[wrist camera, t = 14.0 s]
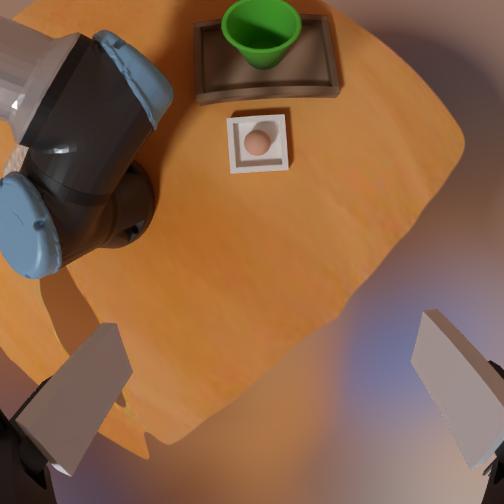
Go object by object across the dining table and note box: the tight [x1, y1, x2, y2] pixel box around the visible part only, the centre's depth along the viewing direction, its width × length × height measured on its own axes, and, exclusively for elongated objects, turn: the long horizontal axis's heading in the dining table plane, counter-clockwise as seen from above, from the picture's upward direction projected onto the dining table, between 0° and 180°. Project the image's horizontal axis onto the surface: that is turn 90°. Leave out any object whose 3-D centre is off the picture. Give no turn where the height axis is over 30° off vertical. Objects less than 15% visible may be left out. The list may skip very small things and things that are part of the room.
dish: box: [227, 114, 289, 174], centre depth 37 cm, size 8×8×2 cm
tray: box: [194, 14, 340, 105], centre depth 33 cm, size 20×14×3 cm
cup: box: [221, 0, 302, 70], centre depth 28 cm, size 9×9×11 cm
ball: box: [244, 130, 271, 156], centre depth 36 cm, size 4×4×4 cm
